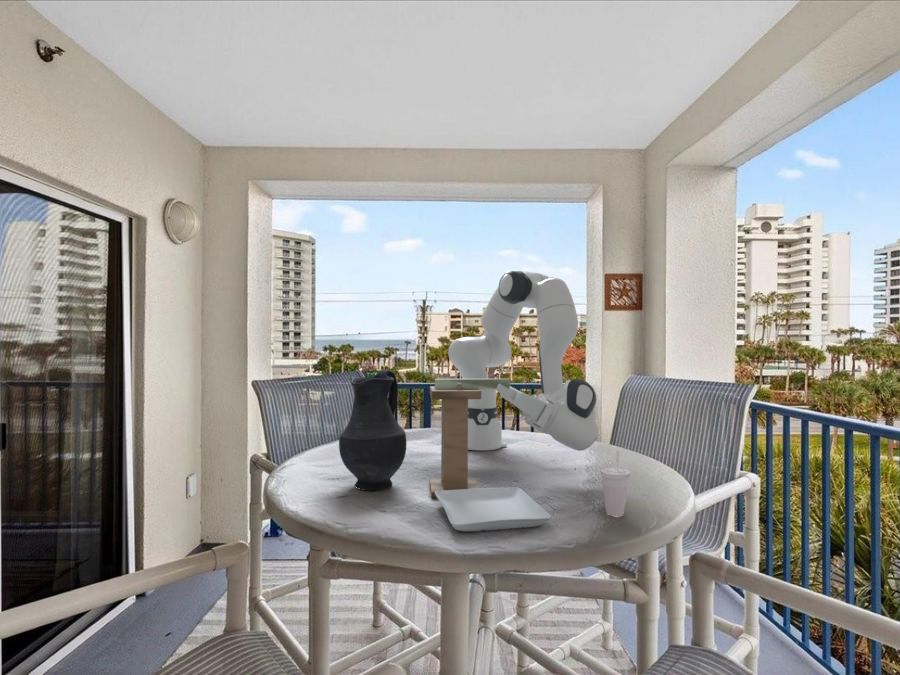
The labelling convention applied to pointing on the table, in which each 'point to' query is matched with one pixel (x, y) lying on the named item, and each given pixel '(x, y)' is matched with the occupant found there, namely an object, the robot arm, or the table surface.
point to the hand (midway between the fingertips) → (493, 384)
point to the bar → (471, 383)
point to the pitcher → (373, 432)
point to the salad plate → (491, 509)
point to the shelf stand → (454, 439)
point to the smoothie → (615, 488)
